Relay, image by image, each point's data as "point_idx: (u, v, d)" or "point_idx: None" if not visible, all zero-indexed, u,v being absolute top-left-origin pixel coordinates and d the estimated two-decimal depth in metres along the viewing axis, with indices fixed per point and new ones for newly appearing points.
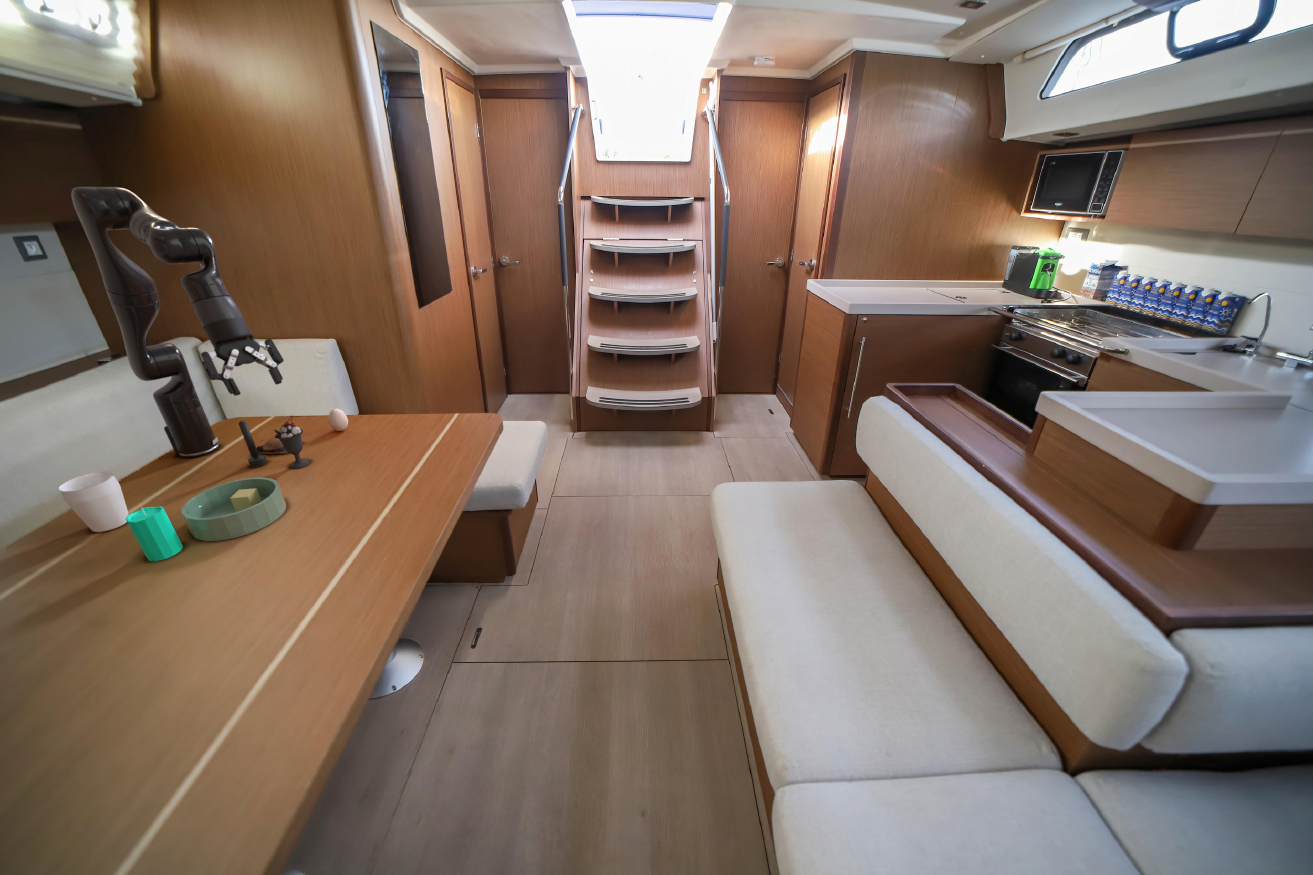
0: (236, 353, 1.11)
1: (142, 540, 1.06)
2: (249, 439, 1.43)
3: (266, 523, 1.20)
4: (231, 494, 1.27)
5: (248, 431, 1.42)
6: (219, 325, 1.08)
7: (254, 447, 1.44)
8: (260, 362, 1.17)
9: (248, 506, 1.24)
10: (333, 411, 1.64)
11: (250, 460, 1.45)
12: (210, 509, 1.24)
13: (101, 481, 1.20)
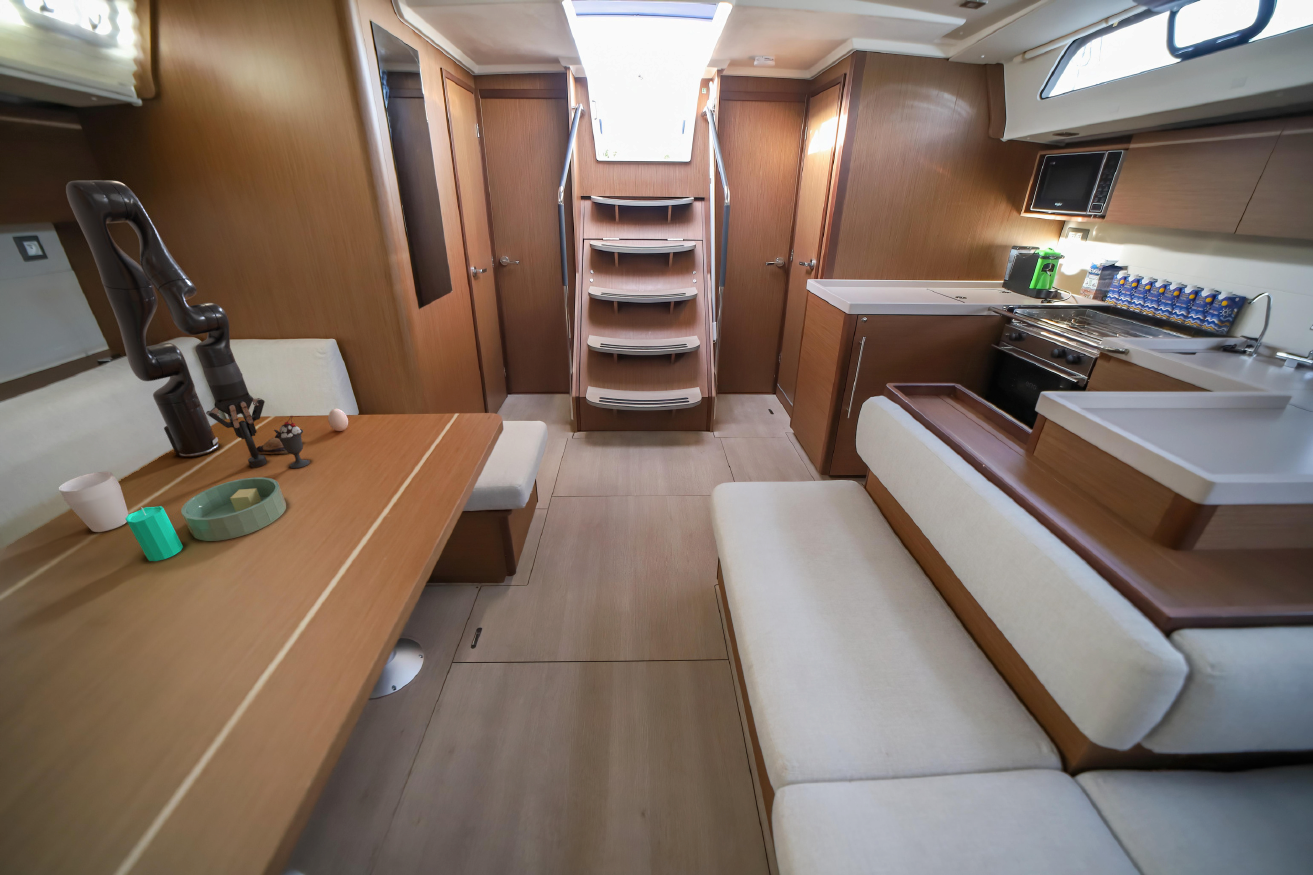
0: (233, 408, 1.37)
1: (142, 540, 1.06)
2: (249, 439, 1.43)
3: (266, 523, 1.20)
4: (231, 494, 1.27)
5: (248, 431, 1.42)
6: (222, 388, 1.33)
7: (254, 447, 1.44)
8: (243, 414, 1.41)
9: (248, 506, 1.24)
10: (333, 411, 1.64)
11: (250, 460, 1.45)
12: (210, 509, 1.24)
13: (101, 481, 1.20)
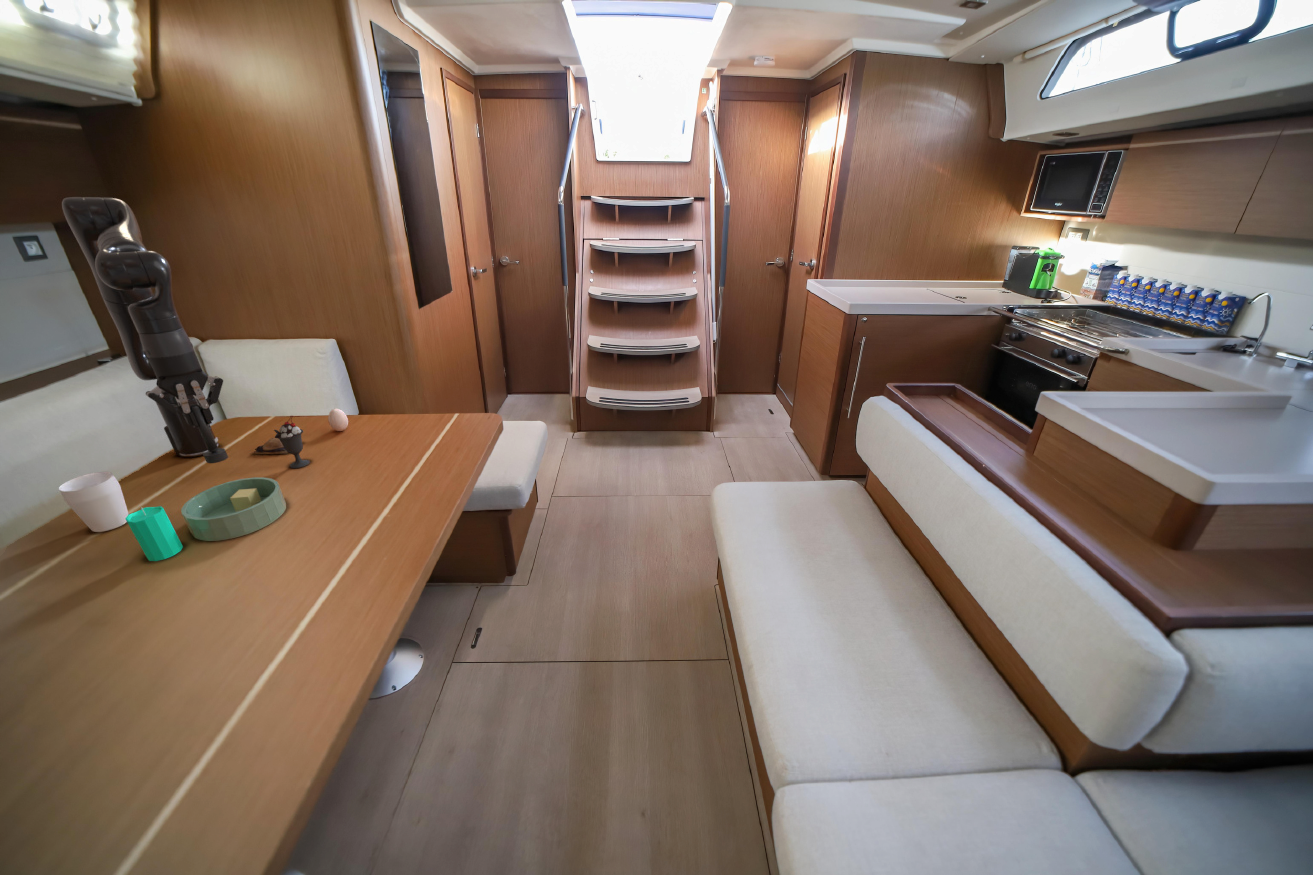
0: (181, 387, 1.08)
1: (142, 540, 1.06)
2: (204, 428, 1.14)
3: (266, 523, 1.20)
4: (231, 494, 1.27)
5: (202, 418, 1.13)
6: (165, 362, 1.04)
7: (211, 438, 1.15)
8: (195, 397, 1.12)
9: (248, 506, 1.24)
10: (333, 411, 1.64)
11: (206, 454, 1.16)
12: (210, 509, 1.24)
13: (101, 481, 1.20)
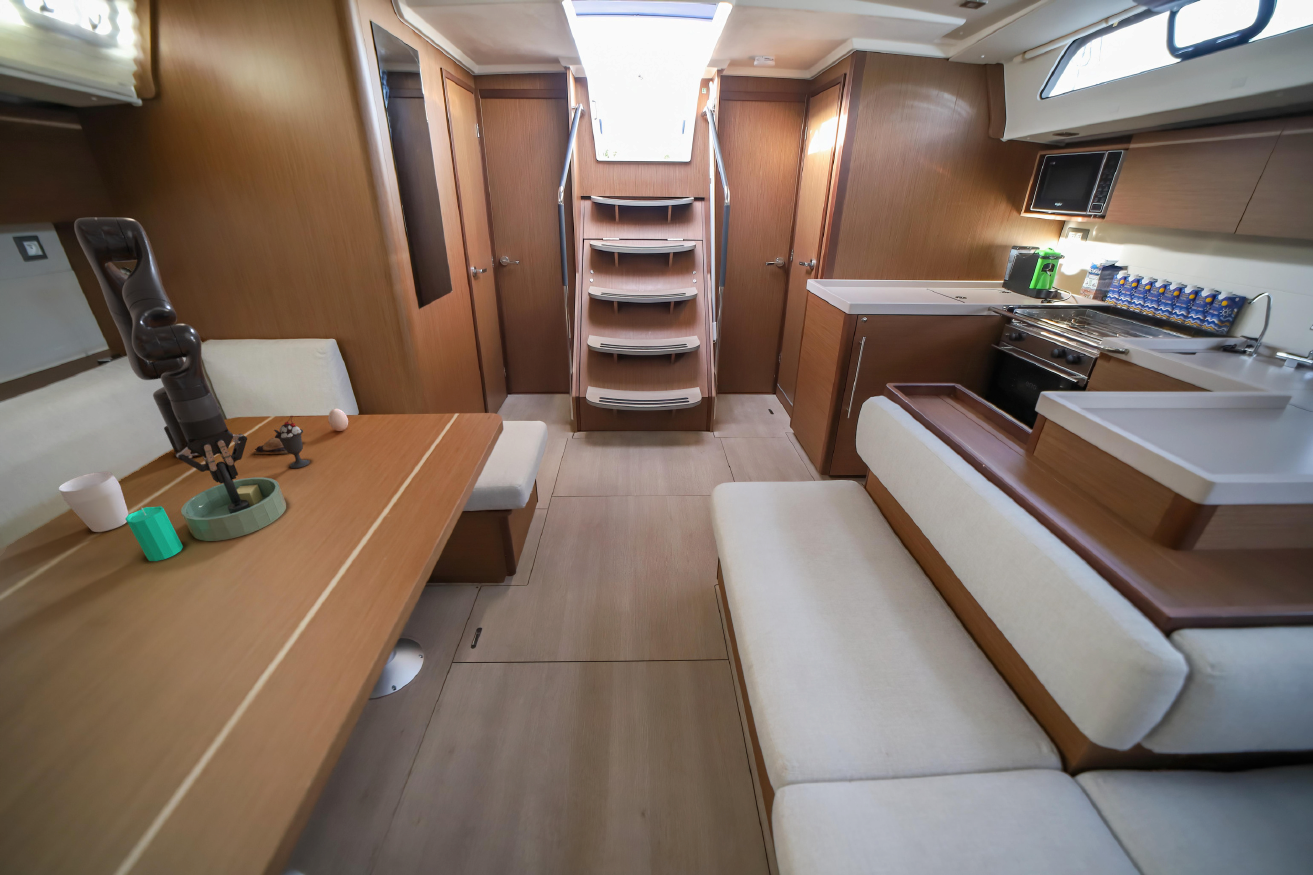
0: (209, 448, 1.14)
1: (142, 540, 1.06)
2: (229, 483, 1.20)
3: (266, 523, 1.20)
4: None
5: (228, 474, 1.19)
6: (194, 426, 1.10)
7: (235, 492, 1.21)
8: (221, 454, 1.18)
9: (250, 502, 1.26)
10: (333, 411, 1.64)
11: (230, 507, 1.22)
12: (210, 509, 1.24)
13: (101, 481, 1.20)
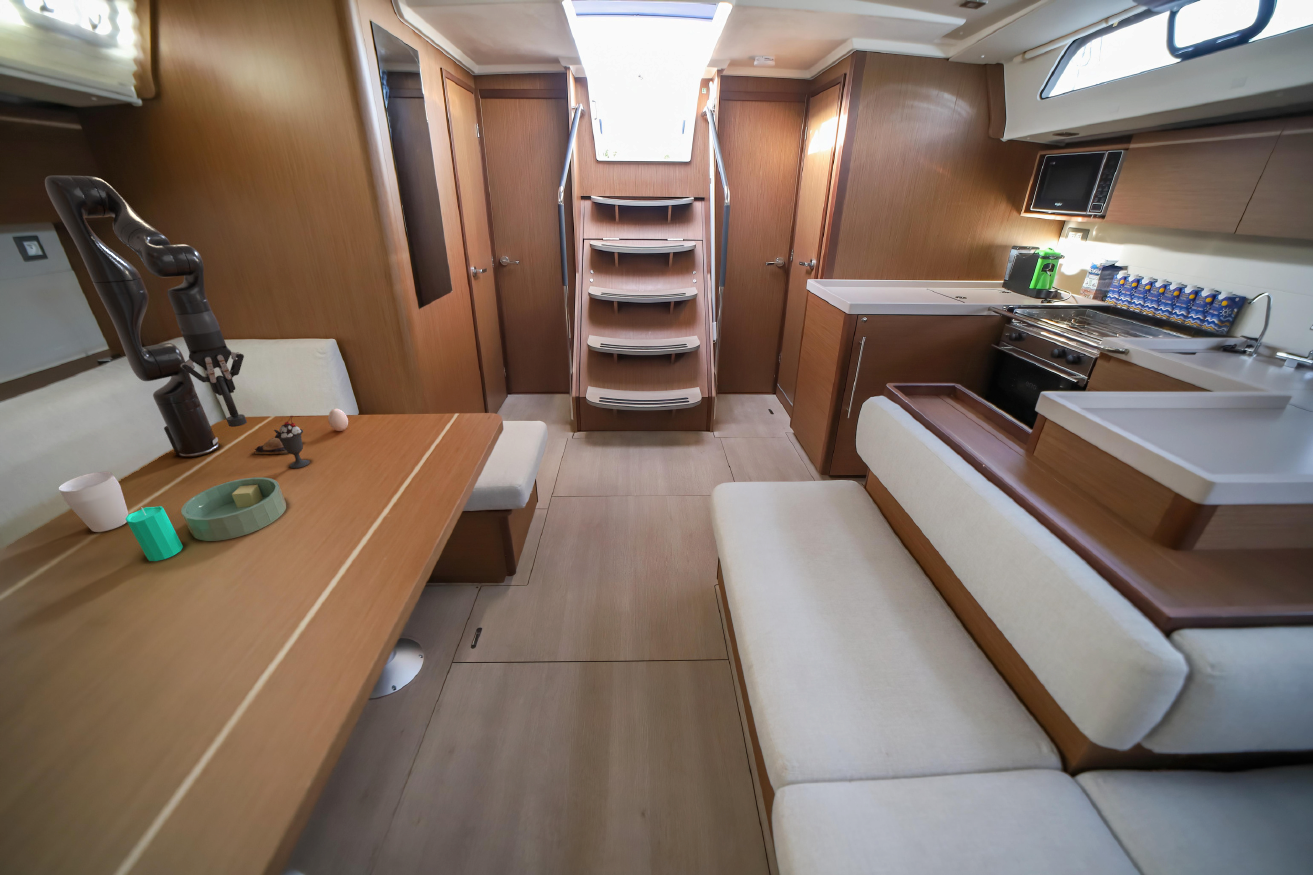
0: (209, 360, 1.28)
1: (142, 540, 1.06)
2: (227, 396, 1.33)
3: (266, 523, 1.20)
4: (231, 494, 1.27)
5: (226, 387, 1.33)
6: (197, 338, 1.24)
7: (233, 405, 1.35)
8: (220, 369, 1.32)
9: (250, 502, 1.26)
10: (333, 411, 1.64)
11: (229, 419, 1.35)
12: (210, 509, 1.24)
13: (101, 481, 1.20)
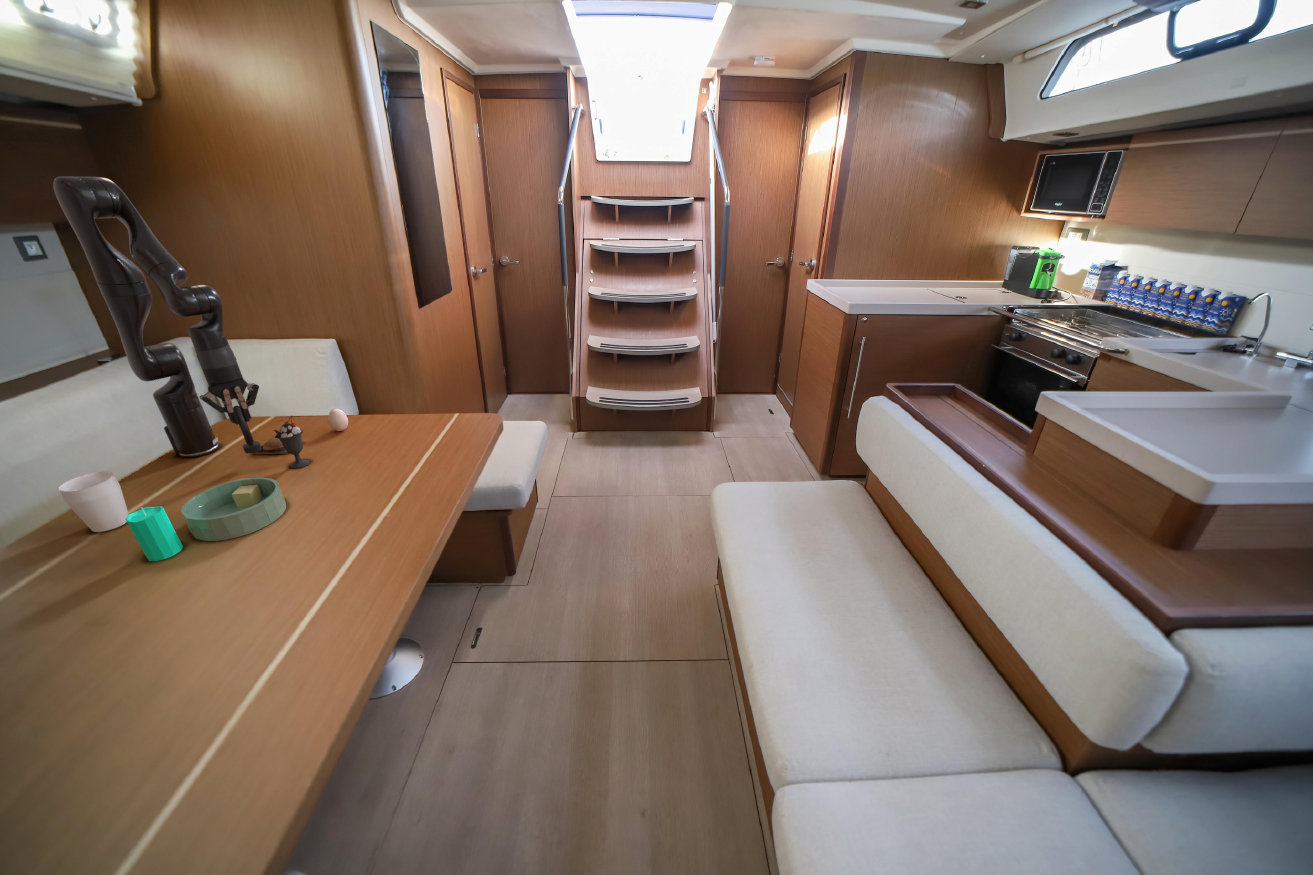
0: (227, 392, 1.35)
1: (142, 540, 1.06)
2: (244, 425, 1.41)
3: (266, 523, 1.20)
4: (231, 494, 1.27)
5: (242, 416, 1.40)
6: (215, 372, 1.31)
7: (249, 433, 1.42)
8: (237, 399, 1.39)
9: (250, 502, 1.26)
10: (333, 411, 1.64)
11: (245, 446, 1.43)
12: (210, 509, 1.24)
13: (101, 481, 1.20)
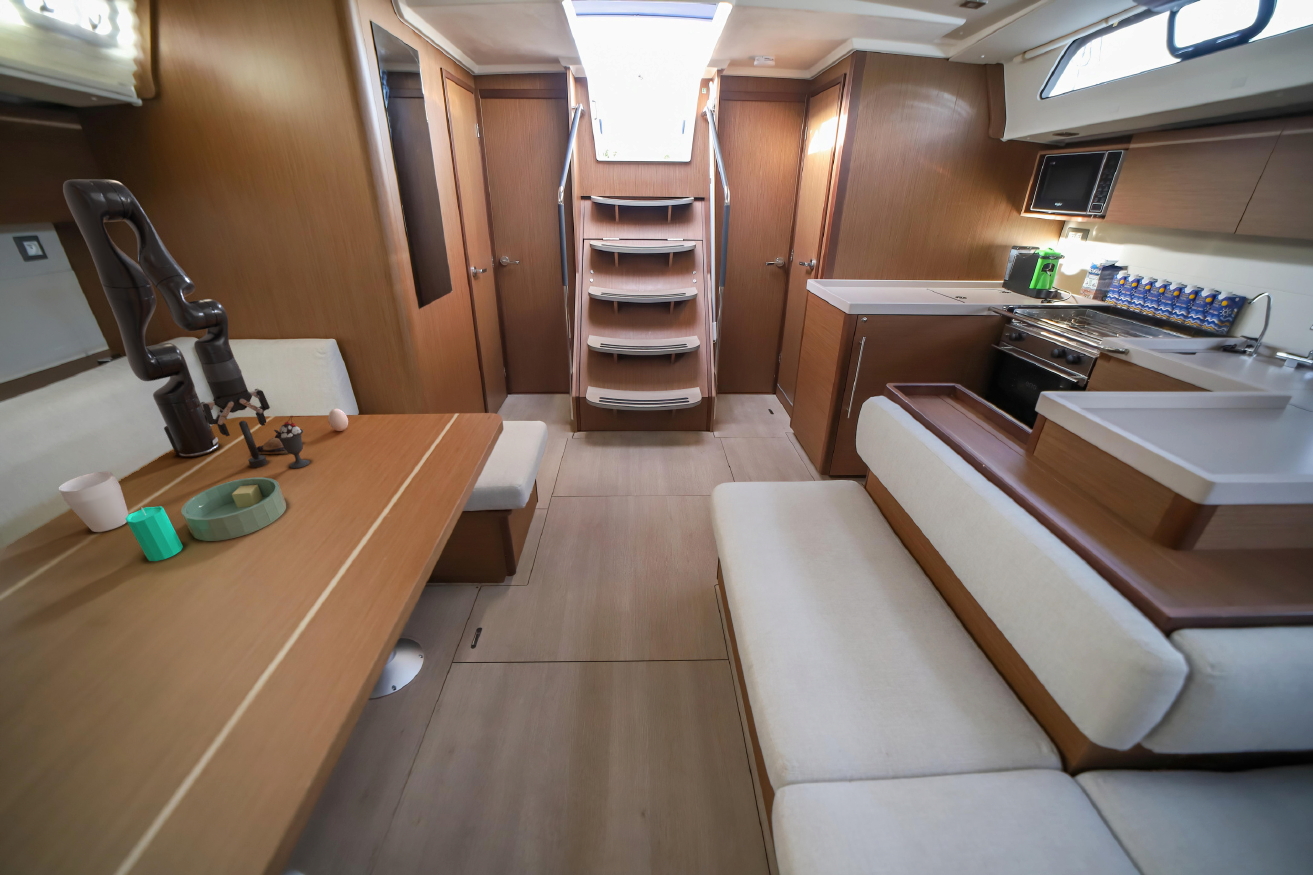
0: (231, 405, 1.36)
1: (142, 540, 1.06)
2: (249, 439, 1.43)
3: (266, 523, 1.20)
4: (231, 494, 1.27)
5: (248, 431, 1.42)
6: (221, 385, 1.32)
7: (254, 447, 1.44)
8: None
9: (250, 502, 1.26)
10: (333, 411, 1.64)
11: (250, 460, 1.45)
12: (210, 509, 1.24)
13: (101, 481, 1.20)
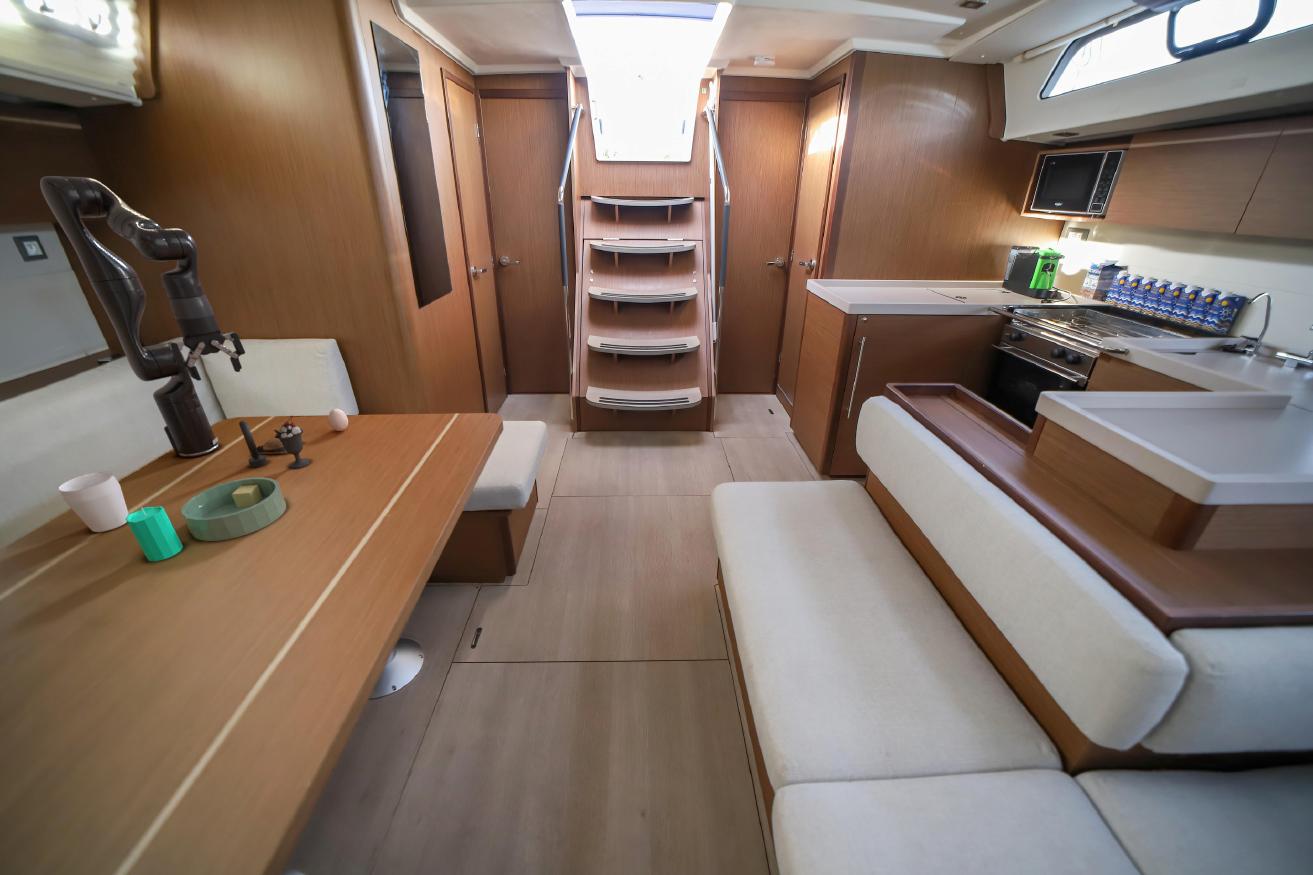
0: (202, 346, 1.27)
1: (142, 540, 1.06)
2: (249, 439, 1.43)
3: (266, 523, 1.20)
4: (231, 494, 1.27)
5: (248, 431, 1.42)
6: (190, 323, 1.23)
7: (254, 447, 1.44)
8: (223, 351, 1.33)
9: (250, 502, 1.26)
10: (333, 411, 1.64)
11: (250, 460, 1.45)
12: (210, 509, 1.24)
13: (101, 481, 1.20)
